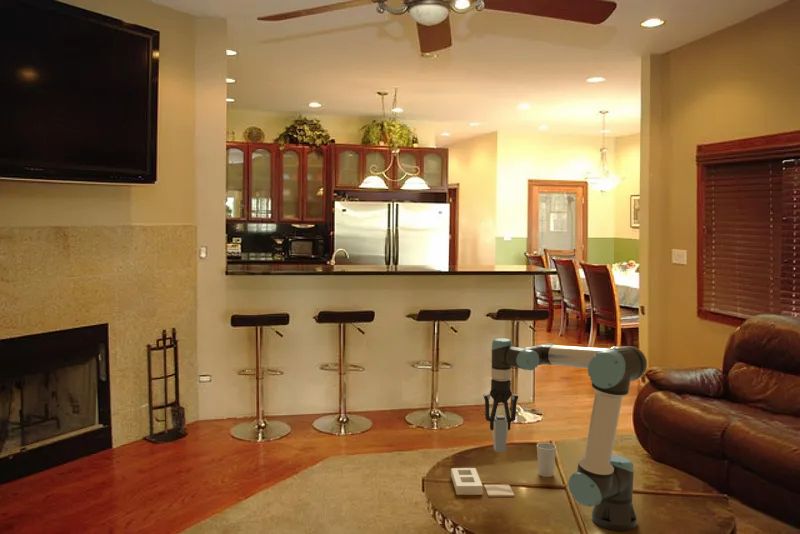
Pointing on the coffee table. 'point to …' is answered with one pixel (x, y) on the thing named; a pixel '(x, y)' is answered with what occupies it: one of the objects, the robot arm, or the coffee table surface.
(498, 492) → the pad
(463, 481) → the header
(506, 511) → the coffee table surface
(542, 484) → the coffee table surface
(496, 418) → the plug
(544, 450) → the cup
